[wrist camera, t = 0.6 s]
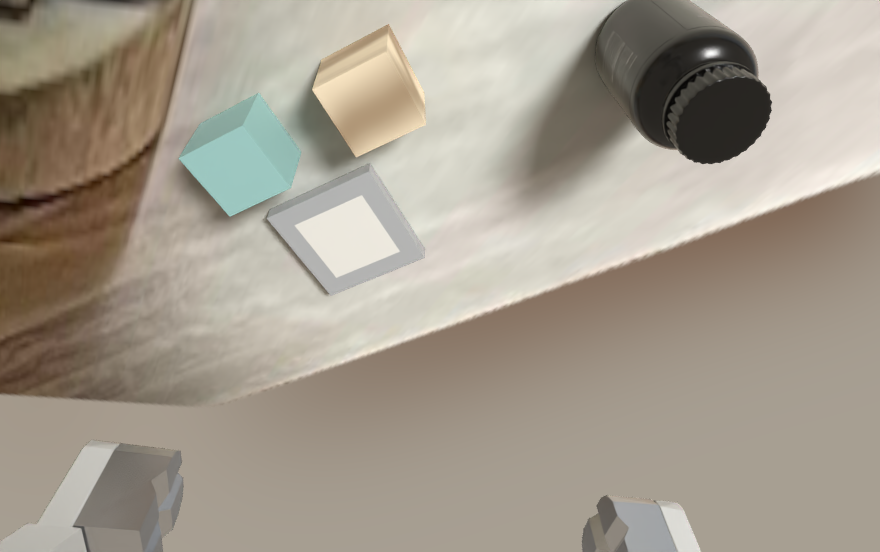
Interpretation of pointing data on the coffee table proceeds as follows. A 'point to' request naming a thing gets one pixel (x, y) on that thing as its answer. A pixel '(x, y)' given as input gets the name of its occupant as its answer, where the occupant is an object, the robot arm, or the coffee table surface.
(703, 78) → the supplement bottle
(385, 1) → the coffee table surface
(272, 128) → the teal cube
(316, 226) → the plate
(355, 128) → the maple cube
